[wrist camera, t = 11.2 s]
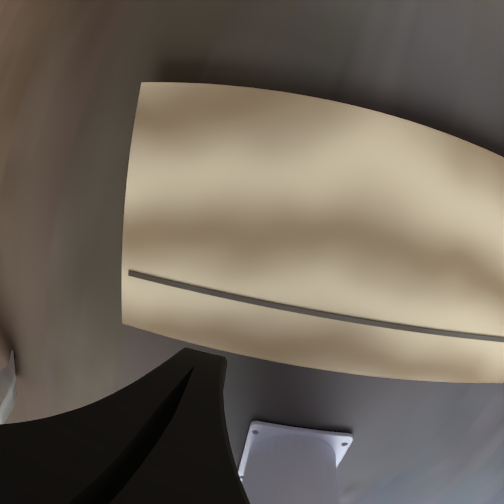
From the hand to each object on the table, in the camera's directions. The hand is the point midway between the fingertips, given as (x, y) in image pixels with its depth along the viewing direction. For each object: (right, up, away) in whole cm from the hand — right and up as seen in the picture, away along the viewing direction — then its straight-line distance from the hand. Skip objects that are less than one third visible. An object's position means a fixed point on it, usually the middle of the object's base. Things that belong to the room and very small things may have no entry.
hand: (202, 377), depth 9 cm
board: (+11, +4, +7) cm, 13 cm away
